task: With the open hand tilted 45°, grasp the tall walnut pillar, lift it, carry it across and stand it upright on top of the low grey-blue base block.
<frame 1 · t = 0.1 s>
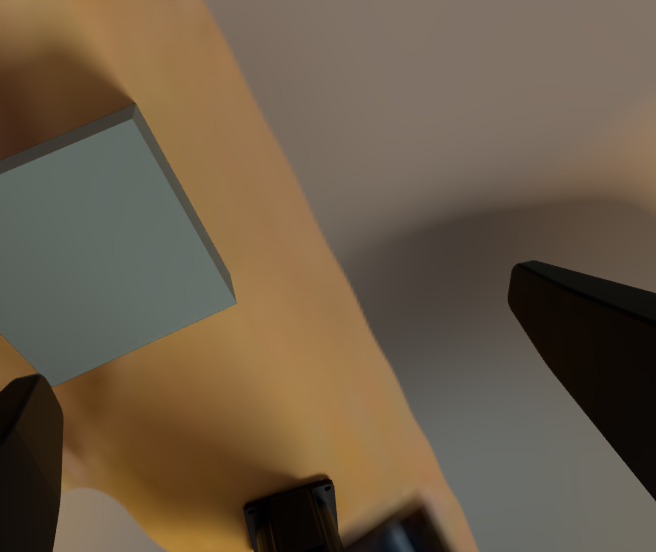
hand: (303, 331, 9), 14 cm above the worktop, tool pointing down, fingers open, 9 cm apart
base block: (96, 236, 22), on the worktop
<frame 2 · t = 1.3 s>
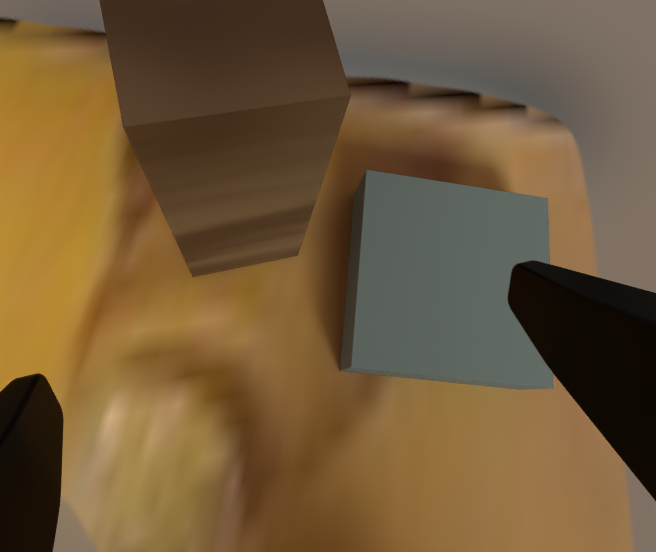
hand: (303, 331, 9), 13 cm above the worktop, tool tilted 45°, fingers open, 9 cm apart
walnut pillar: (235, 217, 24), on the worktop
base block: (433, 290, 25), on the worktop
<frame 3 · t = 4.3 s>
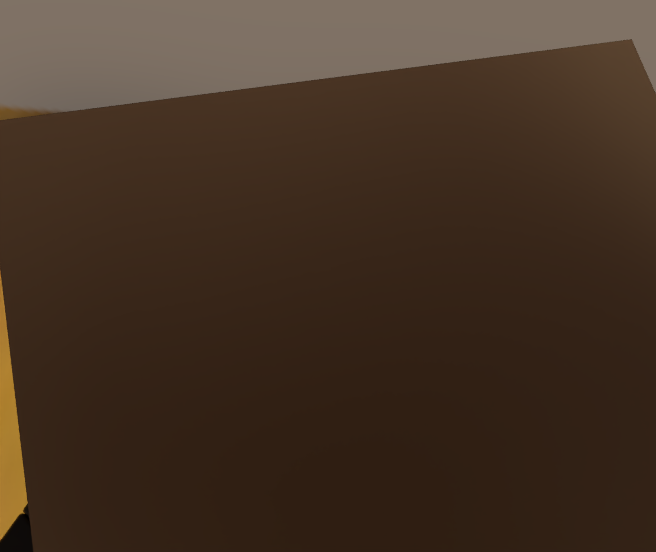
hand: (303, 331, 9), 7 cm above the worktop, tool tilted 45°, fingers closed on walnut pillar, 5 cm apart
walnut pillar: (291, 404, 16), on the worktop, touching gripper
when the fingers open (11 cm above the worktop, at t = 8.0 s): walnut pillar drops 1 cm, resting on base block.
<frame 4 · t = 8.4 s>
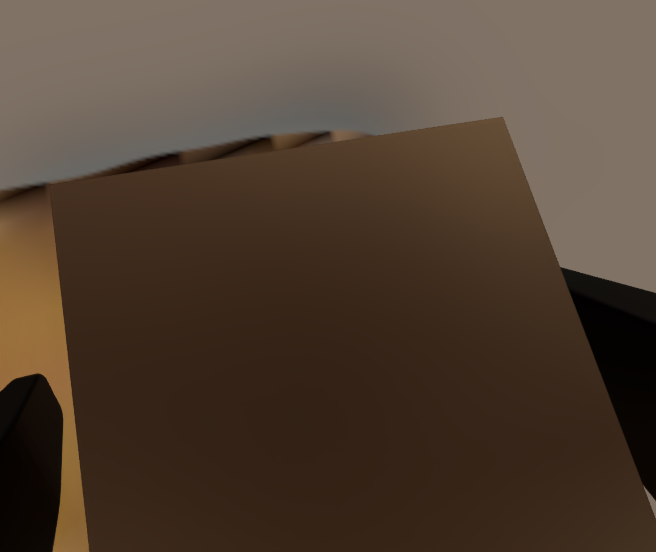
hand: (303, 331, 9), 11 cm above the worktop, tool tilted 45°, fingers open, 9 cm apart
walnut pillar: (287, 408, 17), point 3 cm above the worktop, touching base block
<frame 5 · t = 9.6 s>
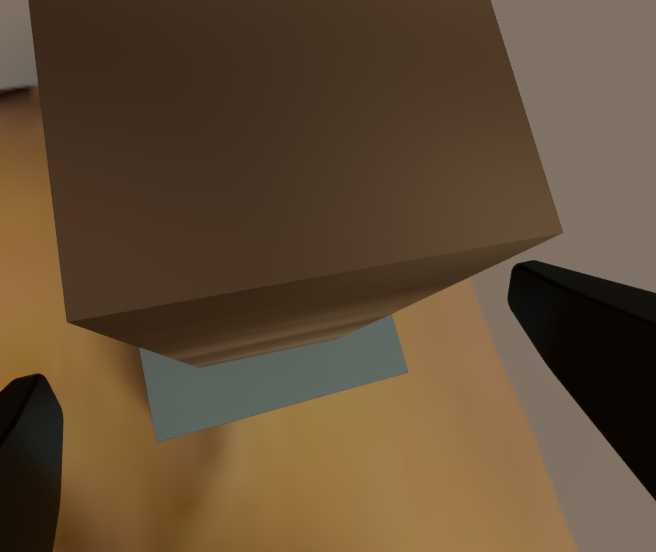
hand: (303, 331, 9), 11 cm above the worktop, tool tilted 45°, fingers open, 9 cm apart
walnut pillar: (257, 284, 18), point 3 cm above the worktop
base block: (258, 298, 21), on the worktop
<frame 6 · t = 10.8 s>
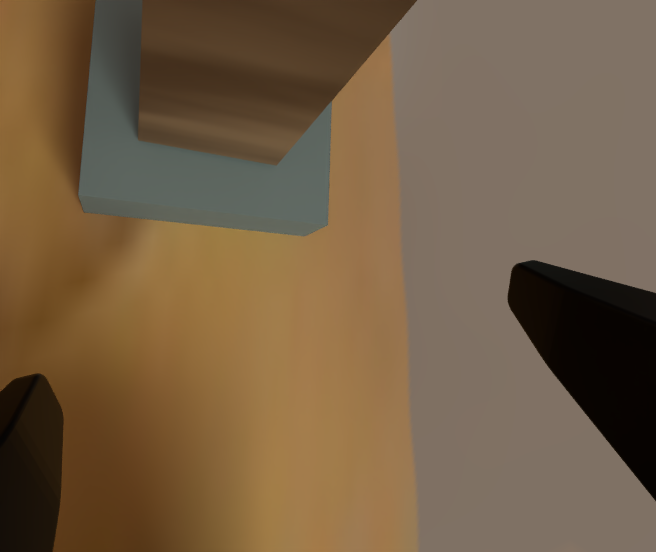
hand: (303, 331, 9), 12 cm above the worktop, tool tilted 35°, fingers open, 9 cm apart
walnut pillar: (216, 89, 18), point 3 cm above the worktop
base block: (208, 124, 21), on the worktop
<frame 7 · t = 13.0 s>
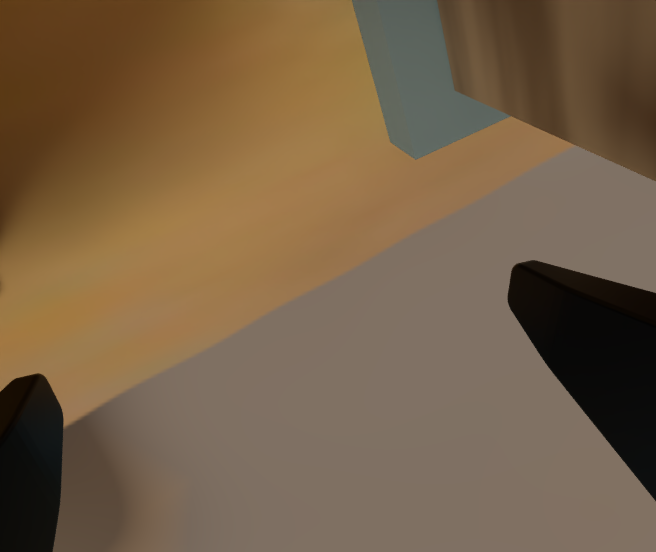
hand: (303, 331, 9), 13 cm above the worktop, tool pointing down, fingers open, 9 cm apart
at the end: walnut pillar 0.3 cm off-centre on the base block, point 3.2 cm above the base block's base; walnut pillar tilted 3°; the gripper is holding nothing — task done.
